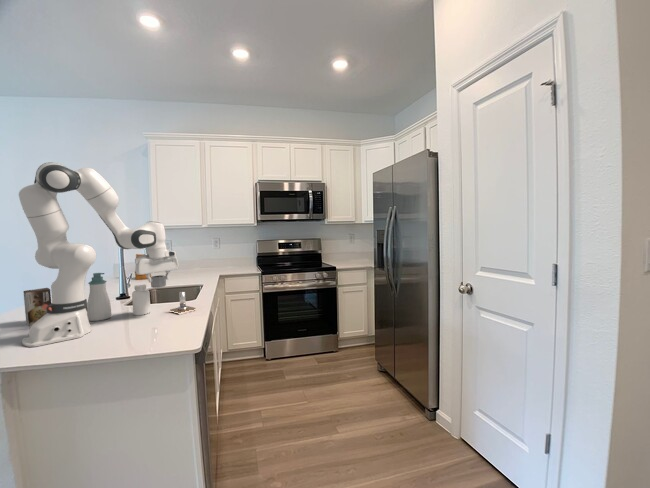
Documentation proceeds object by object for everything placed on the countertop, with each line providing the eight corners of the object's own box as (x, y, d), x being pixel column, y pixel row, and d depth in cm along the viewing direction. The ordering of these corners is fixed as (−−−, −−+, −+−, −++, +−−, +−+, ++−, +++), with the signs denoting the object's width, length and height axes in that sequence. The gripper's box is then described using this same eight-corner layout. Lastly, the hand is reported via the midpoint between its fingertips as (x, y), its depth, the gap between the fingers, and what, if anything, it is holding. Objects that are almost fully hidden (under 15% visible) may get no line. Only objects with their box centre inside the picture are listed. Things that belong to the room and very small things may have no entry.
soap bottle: (99, 321, 153) (96, 274, 152) (82, 321, 155) (79, 274, 154) (116, 316, 163) (113, 271, 161) (100, 315, 165) (97, 271, 163)
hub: (155, 288, 157) (154, 278, 157) (149, 286, 161) (148, 276, 160) (167, 285, 162) (167, 276, 162) (161, 284, 166) (161, 275, 165)
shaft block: (179, 314, 163) (178, 294, 162) (170, 312, 168) (169, 292, 167) (195, 310, 170) (194, 291, 169) (186, 308, 175) (185, 289, 175)
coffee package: (136, 278, 283) (134, 253, 281) (152, 277, 287) (150, 253, 286) (134, 280, 274) (132, 254, 272) (150, 279, 278) (149, 254, 277)
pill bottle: (131, 316, 162) (129, 287, 161) (135, 312, 169) (134, 284, 168) (148, 314, 164) (146, 286, 163) (152, 310, 171) (150, 283, 170)
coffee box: (50, 319, 159) (48, 287, 158) (53, 321, 155) (50, 288, 154) (25, 323, 152) (23, 290, 151) (28, 326, 148) (25, 292, 147)
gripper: (137, 256, 150) (139, 285, 151) (179, 252, 166) (181, 278, 167) (131, 255, 153) (133, 284, 155) (173, 251, 170) (174, 277, 171)
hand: (158, 280), depth 161 cm, fingers closed on hub, 6 cm apart
